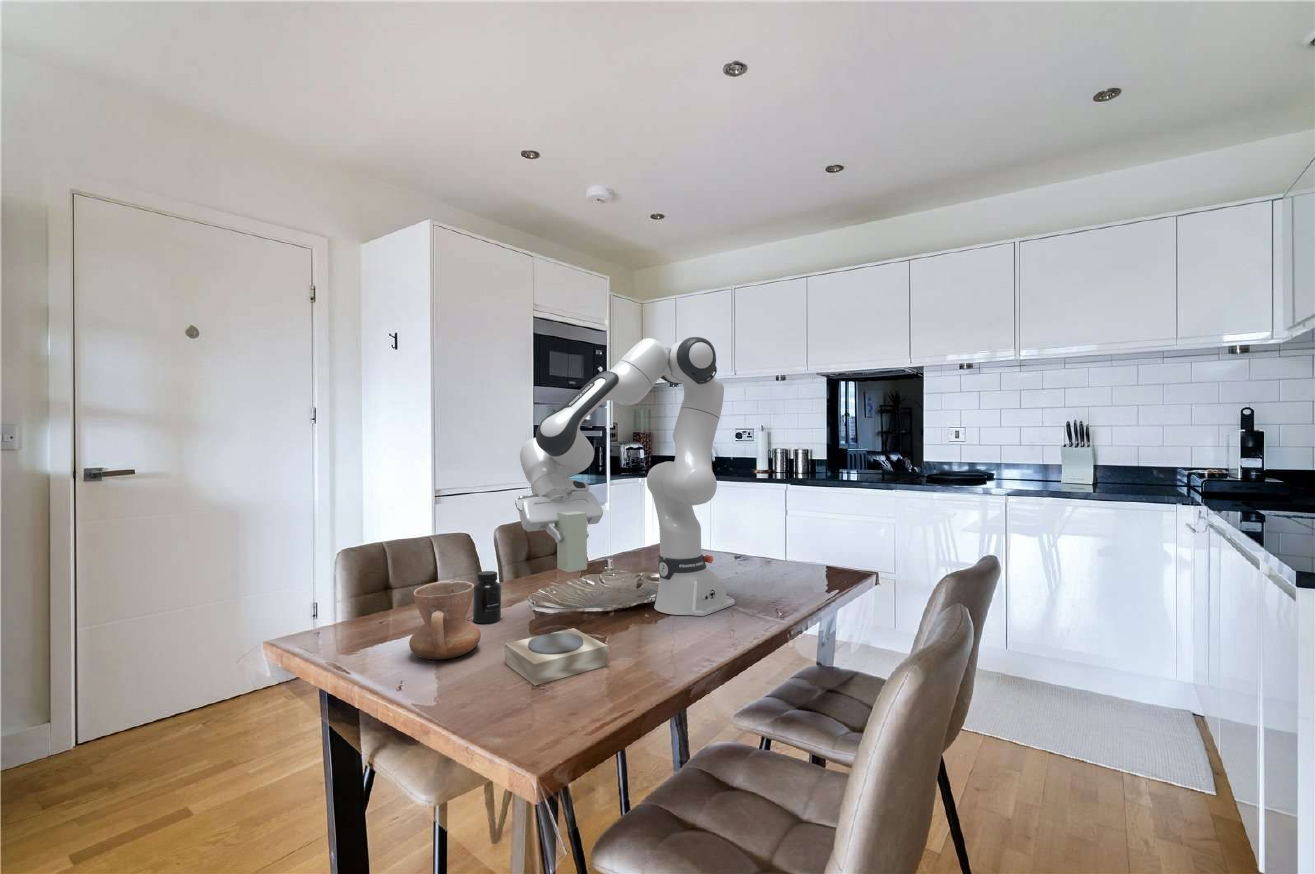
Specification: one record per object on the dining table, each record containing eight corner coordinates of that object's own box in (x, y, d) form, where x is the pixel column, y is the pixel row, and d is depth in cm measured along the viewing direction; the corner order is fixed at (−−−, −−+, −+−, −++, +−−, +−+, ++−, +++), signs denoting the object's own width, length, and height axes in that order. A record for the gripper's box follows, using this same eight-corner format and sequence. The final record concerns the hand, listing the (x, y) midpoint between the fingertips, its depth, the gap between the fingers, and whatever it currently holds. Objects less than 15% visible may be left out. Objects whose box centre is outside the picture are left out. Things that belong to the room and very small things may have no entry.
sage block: (576, 565, 144) (575, 510, 144) (587, 569, 140) (586, 512, 140) (557, 568, 141) (556, 512, 141) (567, 572, 137) (567, 514, 137)
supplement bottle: (493, 625, 149) (493, 576, 149) (467, 623, 151) (467, 575, 151) (505, 616, 156) (505, 570, 156) (481, 615, 157) (481, 569, 157)
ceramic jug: (421, 640, 139) (420, 578, 138) (487, 637, 140) (485, 575, 140) (396, 673, 121) (394, 602, 120) (472, 668, 122) (470, 598, 122)
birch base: (573, 646, 134) (573, 625, 134) (607, 665, 123) (607, 642, 123) (504, 662, 125) (504, 640, 125) (534, 685, 113) (534, 660, 113)
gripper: (516, 488, 140) (535, 536, 132) (593, 482, 152) (615, 526, 144) (508, 505, 143) (527, 553, 136) (584, 499, 156) (605, 542, 148)
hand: (573, 539), depth 140 cm, fingers closed on sage block, 5 cm apart
